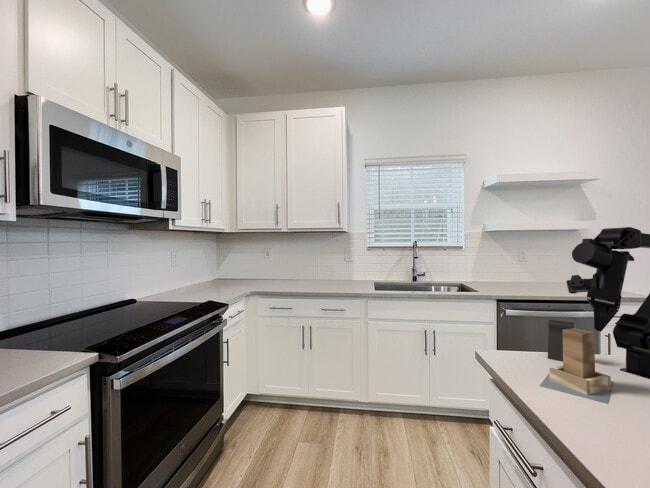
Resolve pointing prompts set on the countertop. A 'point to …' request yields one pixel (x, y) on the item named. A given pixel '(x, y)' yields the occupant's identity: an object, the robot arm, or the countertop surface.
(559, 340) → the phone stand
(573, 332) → the walnut block
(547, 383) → the slate board
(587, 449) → the countertop surface
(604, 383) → the maple socket
